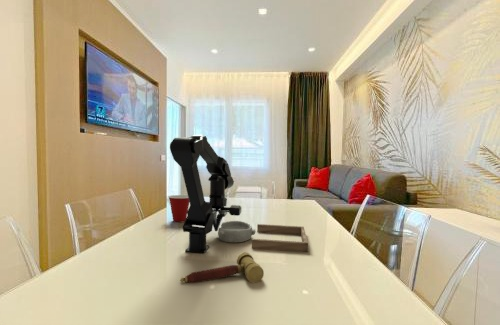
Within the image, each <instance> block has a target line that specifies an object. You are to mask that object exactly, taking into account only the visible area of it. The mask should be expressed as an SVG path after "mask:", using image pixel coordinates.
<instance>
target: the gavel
mask: <svg viewBox="0 0 500 325" xmlns="http://www.w3.org/2000/svg"><path fill="white" fill-rule="evenodd" d="M241 273H244V275H245V277H246V279H247V281H249V282H250V283H258V282H261V281H262V280H263V278H264V269H263V267H261V265H260V264H259V263H257V262H256V261H255V260H254V257H253V256H252V255H251V254H250V253H249V252H247V251H246V252H241V253H240V254H239V255H238V256H237V259H236V264H230V265H226V266H221V267H220V266H219V267H215V268H210V269H205V270H199V271H194V272H191V273H189V274H187V275H185V276H184V277H180V282H181V283H184V282H185V283H192V284H195V283H200V282H205V281H209V280H211V281H212V280H215V279H221V278H226V277H231V276H235V275H237V274H241Z"/></svg>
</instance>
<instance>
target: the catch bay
mask: <svg viewBox="0 0 500 325" xmlns="http://www.w3.org/2000/svg"><path fill="white" fill-rule="evenodd" d="M256 228H257V229H256V232H257V233H270V234H272V233H273V234H287V235H288V234H289V235H300V237H301V241H296V240H295V241H294V240H282V239H281V240H278V239H264V238H251V248H252V249H257V250H259V249H260V250H274V251H288V252H300V253H301V252H302V253H308V249H309V243H308V238H307V234H306V230H305V227H304V226H297V225H296V226H295V225H284V224H283V225H282V224H265V223H264V224H263V223H257V227H256Z"/></svg>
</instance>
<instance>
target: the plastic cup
mask: <svg viewBox="0 0 500 325" xmlns="http://www.w3.org/2000/svg"><path fill="white" fill-rule="evenodd" d="M167 198H168V200H169V204H170V210H171V217H172V220H173V222H174V221H175V222H176V223H183V222H182V221H184V222H185V220H186V218H187V216H188V215H187V212H188V209H189V207H190V202H189V198H188V195H181V194H178V195H176V194H175V195H174V194H172V195H168V197H167ZM175 222H174V223H175Z"/></svg>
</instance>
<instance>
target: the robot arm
mask: <svg viewBox="0 0 500 325" xmlns="http://www.w3.org/2000/svg"><path fill="white" fill-rule="evenodd" d="M169 143H170V144H169V150H170V153H171V156H172V158H173V160H174V161H175V162H176V163H177V165H179V167H180V168H181V171H182V172H181V173H182V177H183V181H184V185H185V189H186V193H187V196H188V198H189V207H188V212H187V217H186V220H185V221H184V222H183V225H182V231H183V233H188V246H187V247H186V249H185V250H184V251H185V253H197V254H204V253H206V251H207V250H208V249H209V247H210V245H209V244H207V235H208V234H209V233H211V232H213V228H214V231H215V232H218V230H219V228H220V225H221V222H222V220H223V218H224V217H226V216H227V214H228V213H229V215H230V216H237V217H238V216H240V215H241V213H242V206H241V205H236V204H235V205H233V204H232V205H230V206H229V207H228V206H227V204H228V199H227V197H226V193H225V190H227V189H230V188H232V187H233V186H234V182H235V181H234V178H233V176H232V172H231V169H230V166H229V163H228V161H227V159H225V158H224V157H222V156H219V155H218V154H217V153H216V151H215V149H213V147H212V145H211V144H210V142H209V141H208V138H207V136H206V135H203V134H193V135H191V136H187V137H186V136H185V137H174V138H173V139H172V141H171V142H169ZM200 157H201V158H202V159H203V161H204V162H205V163H206V167H205V168H206V170H207V172H208V174H210V177H209V178H208V179H207V180H208V182H209V184H210V185H209V201H206V199H205V196H204V195H205V194H204V191H203V186H202V181H201V176H200V172H199V168H198V161H199V158H200Z"/></svg>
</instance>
